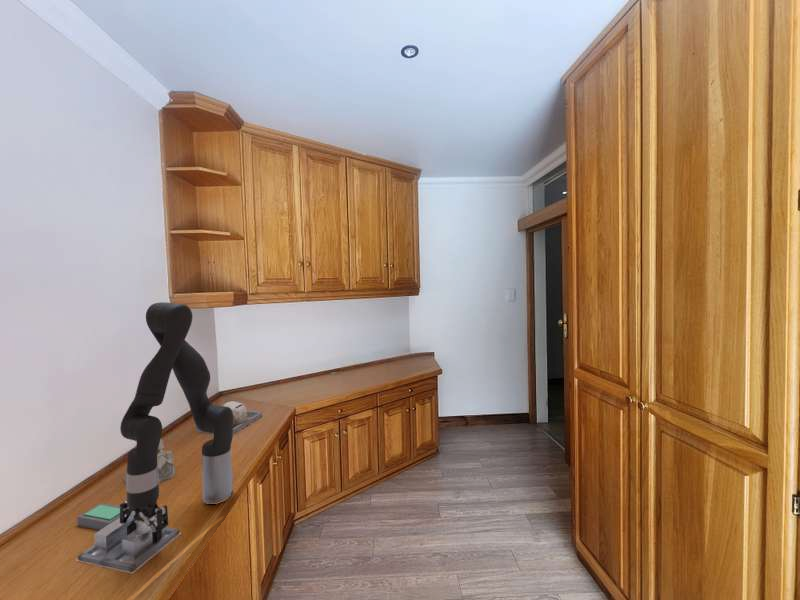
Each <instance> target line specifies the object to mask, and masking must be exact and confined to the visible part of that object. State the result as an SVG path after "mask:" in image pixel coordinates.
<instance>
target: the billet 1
mask: <svg viewBox="0 0 800 600" xmlns="http://www.w3.org/2000/svg"><path fill="white" fill-rule="evenodd" d="M125 517H126V515H125ZM139 522H140V521H137V520H136V521H135V523H136V524H137V528H139ZM126 536H127V527H126V526H125V524H124V523H123V524H121V523H120V517H119V518H118V519H116V520H115V521H113V522H112V523H110V524H109V525H107V526H106V527H104V528H103V529H101V530H98V531H96V532H95V533H94V545H95V554H96V555H100V556H105V557H106V556H107V555H109V554H110V553H111V552H113V551H114V550H116V549H117V548H118V547H120V546H121V545H122V539H123V538H124V537H126Z"/></svg>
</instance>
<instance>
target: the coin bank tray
mask: <svg viewBox="0 0 800 600" xmlns="http://www.w3.org/2000/svg"><path fill="white" fill-rule="evenodd" d="M247 412H248V417H250V418H247V420H246V421H245V422H243V423H241V424H240V425H238V426H236V427H235V428H233V433H235V432H236V433H238V432H240V431H241V430H243V429H245V428H246V427H248V426H249V425H251V424H253V423H254V422H256V421H257V419H258V420H260V419H261V418H262V417H263V412H262V411H250V410H247ZM252 416H253V417H252ZM260 417H261V418H260ZM255 420H256V421H255ZM252 422H253V423H252ZM250 423H251V424H250ZM247 425H248V426H247ZM244 427H245V428H244ZM242 428H243V429H242ZM240 429H241V430H240ZM239 430H240V431H239ZM237 431H238V432H237ZM195 432H196V433H200V432H203V431H200V430H199V429H198V428H197V426H196V427H195ZM236 433H235V434H236ZM202 434H209V433H208V432H203V433H202ZM211 435H214V433H211Z"/></svg>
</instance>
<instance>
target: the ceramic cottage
mask: <svg viewBox="0 0 800 600" xmlns="http://www.w3.org/2000/svg"><path fill="white" fill-rule="evenodd" d="M136 446H137V443H136V444H135V446H134V448H136ZM164 449H165V446H164V442H163V439H162V438H161V439H160V443H159V447H158V450H157V467H158V473H159V483H161V482H165V481H166V480H169V479H172V478H173V477H175V474H176V473H175V472H176V471H175V470H176V469H175V464H174V463H175V460H174V459H175V458H174V456H173V453H172V451H171V450H169V451H168V450H166V451H165V450H164ZM125 466H127V463H126V464H125ZM125 472H126V473H124V478H123V481H124V482H125V483H126V480H127V468H126V471H125Z"/></svg>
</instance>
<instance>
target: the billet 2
mask: <svg viewBox="0 0 800 600" xmlns="http://www.w3.org/2000/svg"><path fill="white" fill-rule="evenodd" d="M154 519H155V516H153V517H152V518H151V519H150V520H151V521H152V520H154ZM143 523H144V524H143V525H142V526H140V527H139V528H137V529H136V530H134V531H133V532H132V533H130V534H129V535H127V536H126V537H124V538H123V539H122V558H123V561H127V562H132V563H134V562H136V561H137V560H138V559H139V558H141V557H142V556H143V555H144V554H145V553H147V552H148V551H149V550H150V549H152V548H153V547H154V546H155V545H157V544H158V543H159V542H160V541H162V540H163V539H164V538H165V537H166V535H165V528H164V529H162V539H161V540H160V541H159V542H158V543H157V544H153V543H152V532H153V531H152V529H151V527H150V526H147V525H146V523H145V522H143ZM162 523H163V522H162ZM154 524H155V526H157V523H156V522H154Z"/></svg>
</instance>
